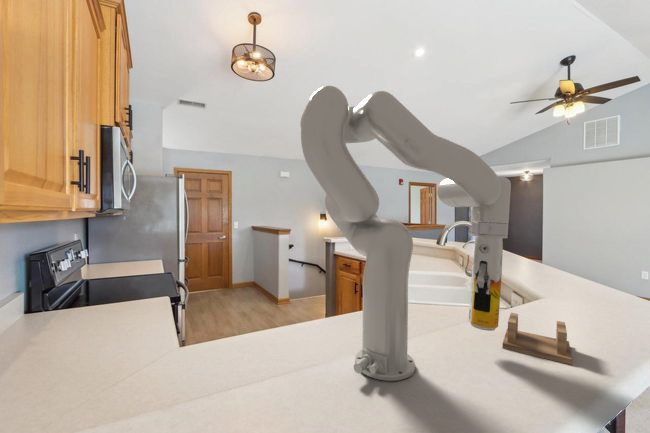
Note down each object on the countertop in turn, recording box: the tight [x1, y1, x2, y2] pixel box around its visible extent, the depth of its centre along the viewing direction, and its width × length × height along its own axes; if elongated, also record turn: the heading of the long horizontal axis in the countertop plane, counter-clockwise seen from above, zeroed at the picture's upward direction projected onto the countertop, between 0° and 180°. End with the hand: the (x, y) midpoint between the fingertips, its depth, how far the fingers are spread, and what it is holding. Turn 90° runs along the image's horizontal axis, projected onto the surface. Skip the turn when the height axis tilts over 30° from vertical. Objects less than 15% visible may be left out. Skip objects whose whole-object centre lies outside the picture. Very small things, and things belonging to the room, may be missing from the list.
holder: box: [501, 312, 573, 366], centre depth 72 cm, size 11×13×6 cm
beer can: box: [468, 264, 503, 332], centre depth 69 cm, size 6×6×15 cm
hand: (484, 306), depth 69 cm, fingers closed on beer can, 6 cm apart
